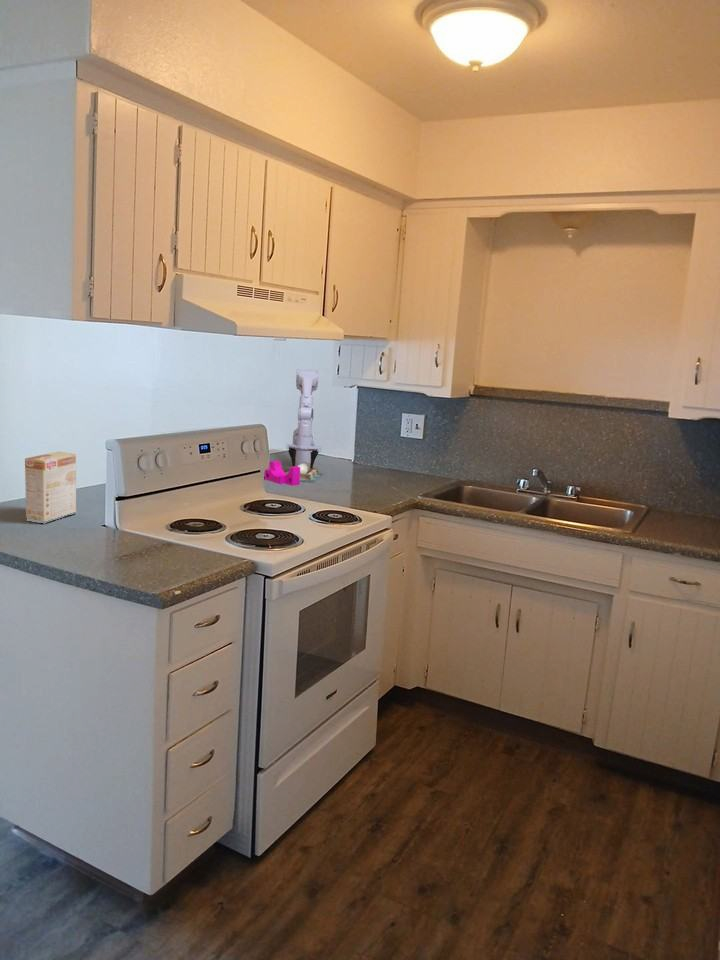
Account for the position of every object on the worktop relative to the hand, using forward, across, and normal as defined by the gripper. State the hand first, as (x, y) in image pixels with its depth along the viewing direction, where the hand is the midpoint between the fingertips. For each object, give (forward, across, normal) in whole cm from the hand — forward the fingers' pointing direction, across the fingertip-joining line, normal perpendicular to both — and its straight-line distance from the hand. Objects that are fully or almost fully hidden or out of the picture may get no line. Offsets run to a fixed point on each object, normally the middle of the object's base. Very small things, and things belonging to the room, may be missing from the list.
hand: (302, 467), depth 328 cm
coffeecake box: (+4, -55, -102) cm, 116 cm away
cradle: (+4, 0, 0) cm, 4 cm away
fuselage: (+4, 0, 0) cm, 4 cm away
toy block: (+4, -5, -15) cm, 17 cm away
